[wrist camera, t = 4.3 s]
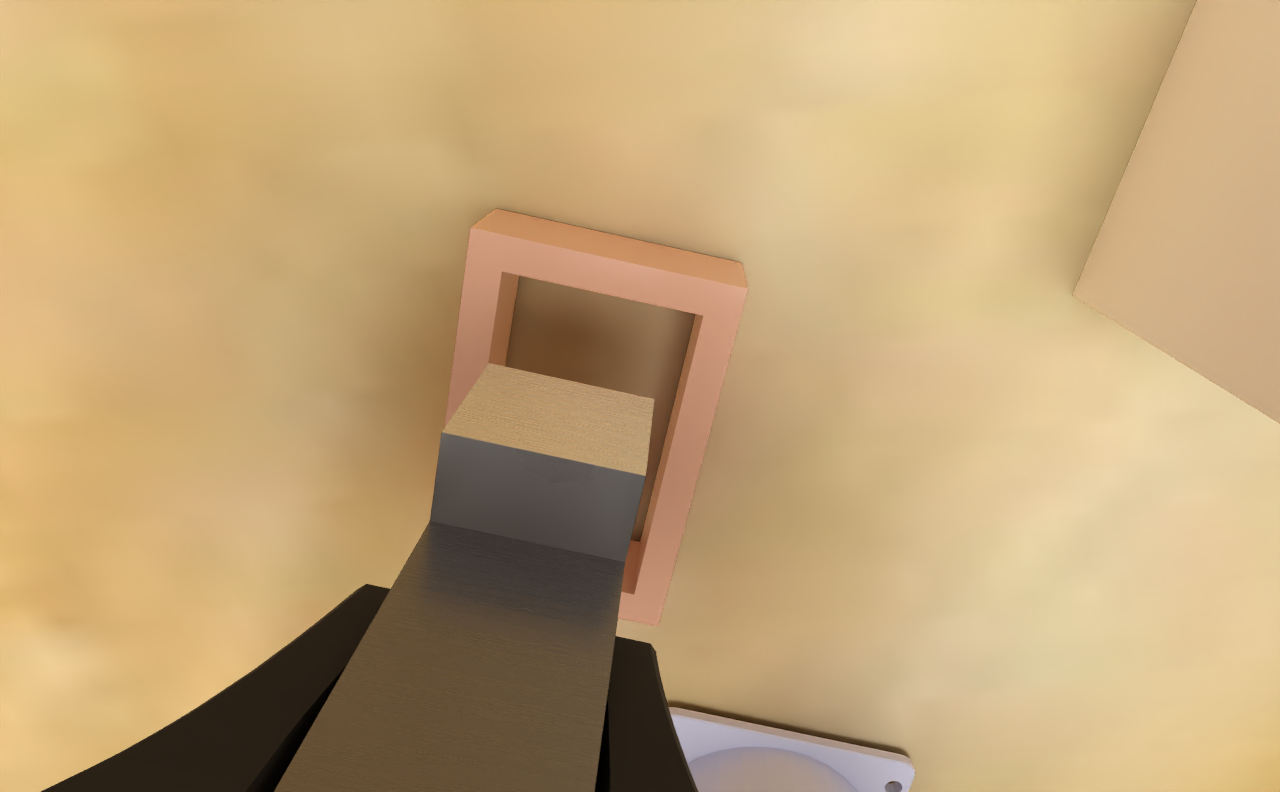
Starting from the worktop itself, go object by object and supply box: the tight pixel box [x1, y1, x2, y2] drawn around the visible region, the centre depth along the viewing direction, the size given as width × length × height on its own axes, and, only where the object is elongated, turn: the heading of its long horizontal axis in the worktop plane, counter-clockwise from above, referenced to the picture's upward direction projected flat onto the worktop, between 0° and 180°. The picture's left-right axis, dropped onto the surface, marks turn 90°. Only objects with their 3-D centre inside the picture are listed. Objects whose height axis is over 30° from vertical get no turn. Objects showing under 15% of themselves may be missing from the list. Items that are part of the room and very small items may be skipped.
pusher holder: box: [444, 209, 748, 626], centre depth 21 cm, size 6×9×2 cm
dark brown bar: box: [274, 363, 654, 792], centre depth 11 cm, size 3×6×10 cm, turn 168°
